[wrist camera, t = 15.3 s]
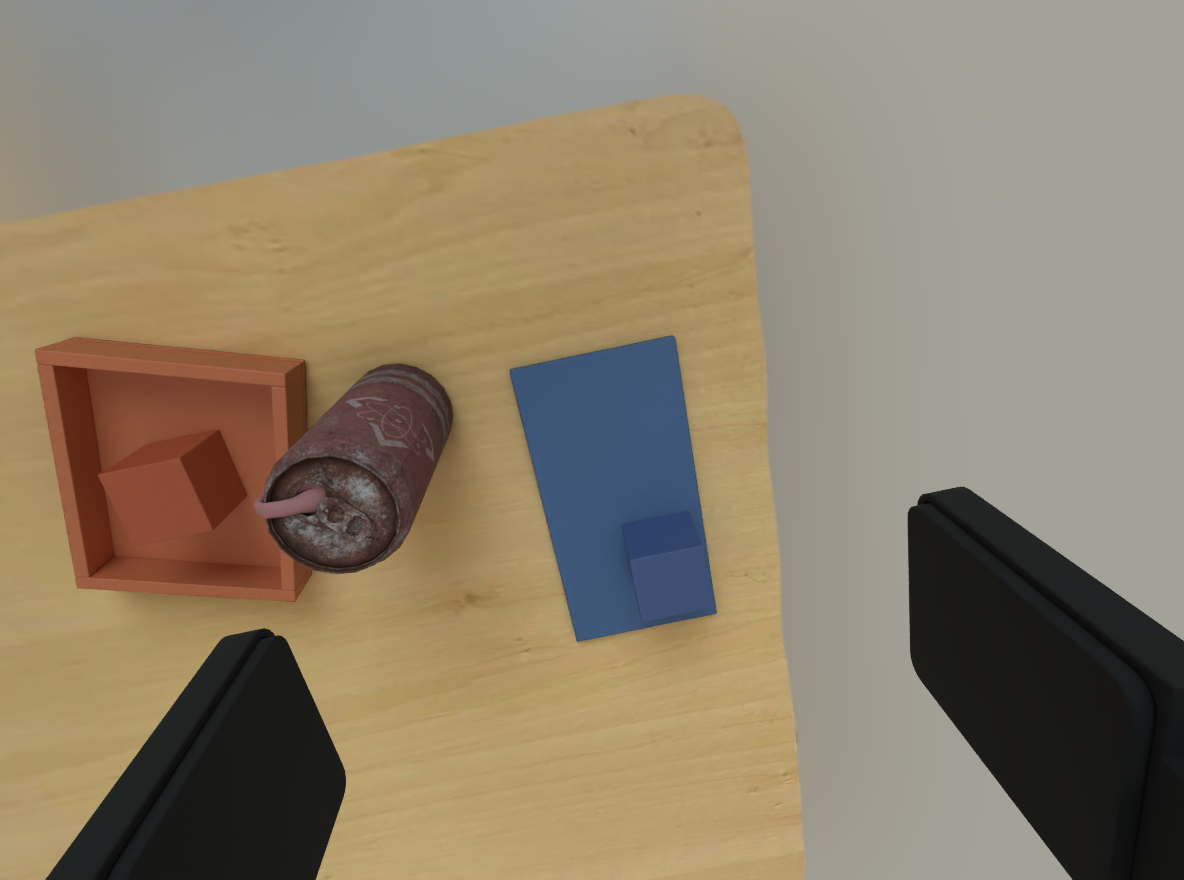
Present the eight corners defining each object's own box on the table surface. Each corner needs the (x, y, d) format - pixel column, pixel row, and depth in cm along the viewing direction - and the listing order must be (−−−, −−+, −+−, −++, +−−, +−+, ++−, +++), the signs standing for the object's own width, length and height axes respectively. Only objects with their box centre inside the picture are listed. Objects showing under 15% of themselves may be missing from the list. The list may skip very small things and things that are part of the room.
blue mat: (509, 369, 39) (509, 371, 39) (673, 335, 39) (675, 336, 38) (576, 637, 46) (577, 642, 46) (715, 609, 46) (716, 613, 46)
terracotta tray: (73, 336, 37) (33, 349, 34) (305, 359, 38) (285, 373, 35) (109, 561, 42) (76, 588, 39) (312, 574, 43) (295, 602, 40)
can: (337, 365, 38) (229, 454, 25) (446, 358, 39) (395, 443, 25) (356, 460, 40) (265, 588, 27) (459, 453, 41) (418, 576, 28)
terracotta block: (145, 444, 39) (96, 475, 34) (219, 428, 39) (179, 457, 34) (177, 510, 40) (134, 547, 36) (248, 495, 40) (213, 531, 36)
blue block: (621, 524, 43) (629, 560, 38) (688, 510, 43) (703, 545, 38) (632, 581, 44) (641, 622, 40) (697, 568, 44) (713, 607, 40)
